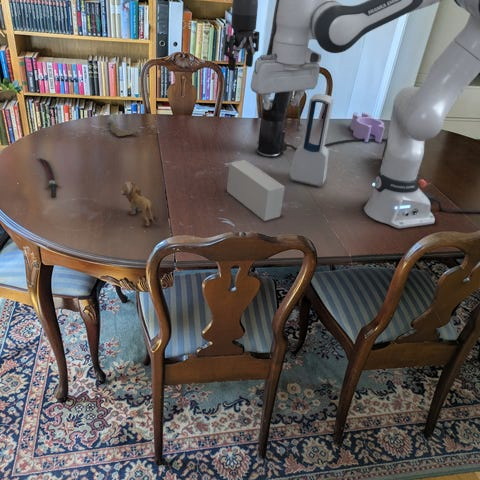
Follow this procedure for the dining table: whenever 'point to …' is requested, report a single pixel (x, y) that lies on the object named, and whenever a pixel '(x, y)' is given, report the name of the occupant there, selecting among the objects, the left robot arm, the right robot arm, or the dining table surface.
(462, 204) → the dining table surface
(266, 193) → the box
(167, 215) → the dining table surface
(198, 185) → the dining table surface
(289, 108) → the miniature windmill
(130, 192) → the lion figurine
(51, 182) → the sword
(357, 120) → the clip
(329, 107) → the electronic device
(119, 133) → the jawbone
